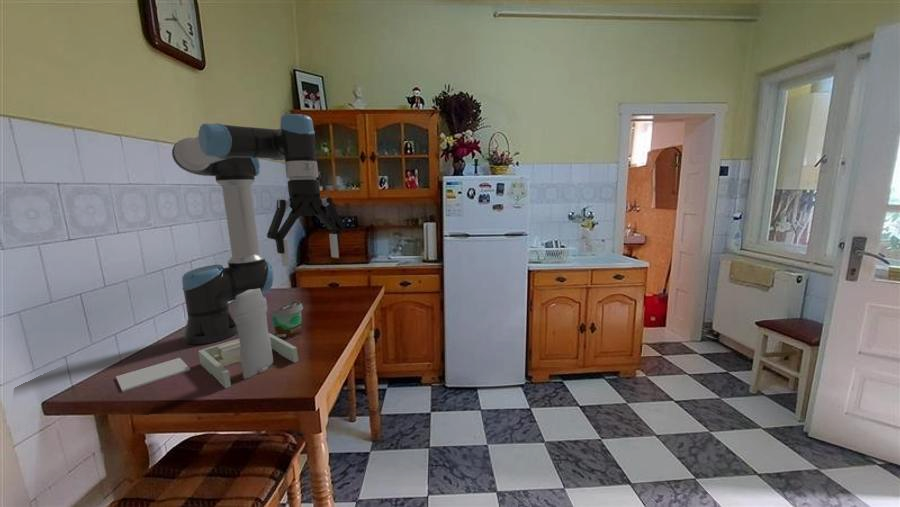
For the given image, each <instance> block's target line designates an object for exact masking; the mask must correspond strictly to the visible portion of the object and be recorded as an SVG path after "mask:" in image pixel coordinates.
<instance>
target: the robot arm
mask: <svg viewBox="0 0 900 507" xmlns="http://www.w3.org/2000/svg"><path fill="white" fill-rule="evenodd" d="M279 126H280V128H278V129H277V128H276V129H273V128H265V127H263V128H262V127H251V126H240V125H230V124H222V123H203V124H201V125H200V127H199V130H198V136H196V137H186V138H182V139H180V140H177V142H176V143H175V144H174V145H173V147H172V150H171V156H172V159H173V161H174V162H175V163H176V165H177V166H178V167H179V168H180V169H182V170H183V171H186V172H187V173H190V174H194V175H197V176H204V177H205V176H206V177H215V182H216V183H217V184H218V185H220V186H221V189H222V194H223V195H222V196H223V201H224V208H225V216H226V222H227V229H228V236H229V244H230V252H231V257H230V258H229V259H228V261H227V266H228V267H224V265H222V264H211V265H205V266H201V267H198V268H195V269H192V270H189V271H187V272H186V273H184V274H183V275H182V277H181V278H182V281H181V282H182V283H181V284H182V290H183V294H184V296H183V297H184V301H185V307H186V313H187V322H186V326H185V331H184V341H185V344H188V345H205V344H212V343H215V342H220V341H223V340H226V339H229V338H231V337H233V336H235V335H236V334H237V333H238V329H237V326H238V325H237V324H235V322H234V318H233V313H232V312H231V311H230V307H229V302H232V301H236V296H237V295H239V294H241V293H243V292H245V291H246V290H250V289H258V288H260V289H261V292H262V295H263V294H267V293H268V292H270V290H271V289H272V288H273V285H274V278H275V277H274V269H273V268H272V267H273V266H272V264H271V263H270V262H269V261H267V260H266V259H265V258H266V257H265V256H264V255H262V254H261V253H260V247H259V240H258V233H257V225H256V224H257V223H256V216H255V210H254V209H255V208H254V202H253V200H254V199H253V194H252V185H253V184H254V183H255V182H256V181H255V180H256V178H255V177H257V176H259V174H260V169H261V164H260V159H269V160H272V161H284V162H285V163H284V164H285V172H286V178H287V179H289V180H288V181H287V190H288V197H289V199H288V200H285V199H277V200H276V209H275V212H274V215H273V218H272V220H271V223H270V226H269V228H268V231H267V234H266V238H268V239H271V240H274V242H275V244H276V252H277V254H280V256H281V264H282V266H283V267H291V260H290V252H289V245H288V244H289V243H288V240H287V239H285V238H286V236H287V235H288V233H289V232H290V230H291V229H292V228H293V226H294V224H295V223H296V221H297V220H298V219H299V218H300V217H308V216H309V217H310V216H311V217H313V216H315V217H317V219H318V220H319V221H321V222H322V224H323V225H324V226H325V227H326V228H327V229H328V230H329V231H330V232H331V233H329V234H328V235H329V245H330V246H329V247H330V255H331V256H330V257H331V258H335V259H339V258H340V256H339V255H340V254H339V246H340V245H341V239H340V238H341V237H340V234H342V231H346V226H345V224H344V222H343V221H342V219H341V217H340V215H339V213H338V211H337V210H336V208H335V206H334V203H333V199H332V197H331V196H330V197H327V196H325V197H324V198H322V197H321V196H320V195H321V187H320V186H321V185H320V181H319V179H317V178H319V168H318V160H317V158H318V157H317V148H316V135H315V133H316V132H315V130H314V123H313V119H312V117H310V116H309V115H307V114H300V113H288V114H287V113H286V114H284V115H281V117H280V125H279ZM321 206H323V207H324V208H325V211H326V212H327V213H328V215H329V216H328V215H327V214H325V211H324V210H323V209H322V208H321ZM288 207H290V209H291V211H290V212H289V214H288V217H287V218H285V221H284V222H283V218H284V216H285V213H286V209H288ZM329 217H330V218H329ZM282 222H283V224H282ZM281 225H282V226H281Z"/></svg>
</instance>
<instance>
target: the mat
mask: <svg viewBox="0 0 900 507" xmlns="http://www.w3.org/2000/svg"><path fill="white" fill-rule="evenodd" d="M190 371H191V368H190V367H189V366H188V365H187V364H186V363H185V362H184V360H183V359H182V358H181V357H177V358H174V359H171V360H167V361H164V362H161V363H160V362H159V363H157V364H154V365H151V366H146V367H144V368H141V369H136V370H133V371H129V372H127V373H123V374H119V375H116V376H115V378H116V380H117V383H118V385H119V388H120V389H121V392H122V393H123V392H126V391H130V390H133V389H137V388H139V387H143V386H145V385H148V384H152V383H154V382H155V383H156V382H158V381H160V380H164V379H167V378H170V377H173V376H176V375H181V374H183V373H186V372H190Z"/></svg>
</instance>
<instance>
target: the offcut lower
mask: <svg viewBox="0 0 900 507" xmlns="http://www.w3.org/2000/svg"><path fill="white" fill-rule="evenodd" d="M214 359H215V360H216V361H218V362H219V363H220V364H221V365H222V366H223V367H224V366H225V367H228V366H231V365H233V363H234V364H236V362H237V363H239V362H240V363H241V357H240V355H239V356H235V357H232V358H229V359H226V360H224V359H223V358H222V357H221V356H219V354H218V355H215V356H214ZM230 364H231V365H230Z"/></svg>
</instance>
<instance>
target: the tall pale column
mask: <svg viewBox="0 0 900 507" xmlns="http://www.w3.org/2000/svg"><path fill="white" fill-rule="evenodd" d="M234 303H235V304H234V307H233V309H232V316H233V318H234V322H235V324H237V329H238V332H237V333H238V339H240V340H239V341H240V345H241V346H240V357H241V361H240V364H241V371H242V378H243V380H247V379H250V378H252V377H254V376H257V375H258V374H261V373H263V372H265V371H268V368H269V367H271V366H272V365H274V356H273V350H272V347H271V340H270V336H269V334H268V332H269V327H268V320H267V319H268V318H267V317H268V316H267V312H268V304H267V303H268V302H267V298H266V297H264V296H263V294H262V292H261V289H260V288H258V289H250V290H246V291H245V292H243V293H241V294H239V295H237V296H236V300H235V302H234Z"/></svg>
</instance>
